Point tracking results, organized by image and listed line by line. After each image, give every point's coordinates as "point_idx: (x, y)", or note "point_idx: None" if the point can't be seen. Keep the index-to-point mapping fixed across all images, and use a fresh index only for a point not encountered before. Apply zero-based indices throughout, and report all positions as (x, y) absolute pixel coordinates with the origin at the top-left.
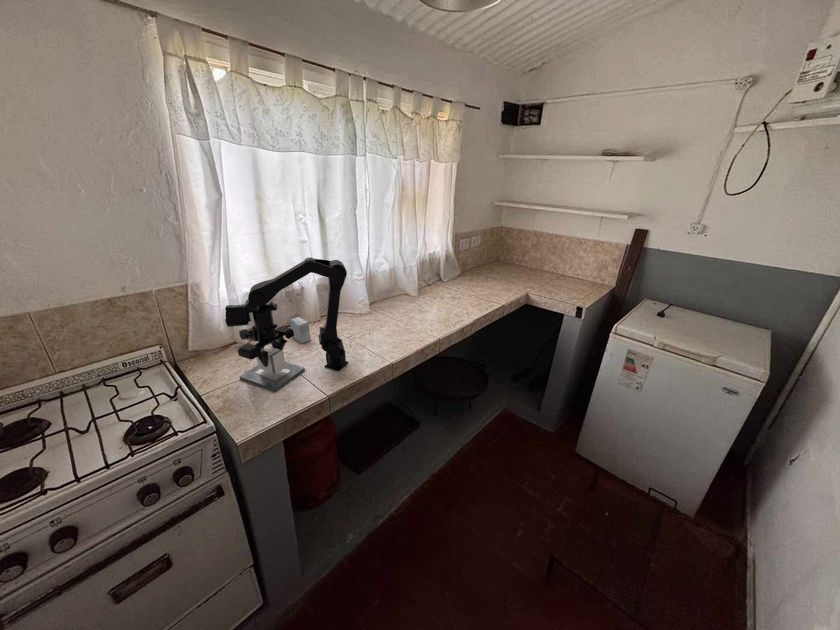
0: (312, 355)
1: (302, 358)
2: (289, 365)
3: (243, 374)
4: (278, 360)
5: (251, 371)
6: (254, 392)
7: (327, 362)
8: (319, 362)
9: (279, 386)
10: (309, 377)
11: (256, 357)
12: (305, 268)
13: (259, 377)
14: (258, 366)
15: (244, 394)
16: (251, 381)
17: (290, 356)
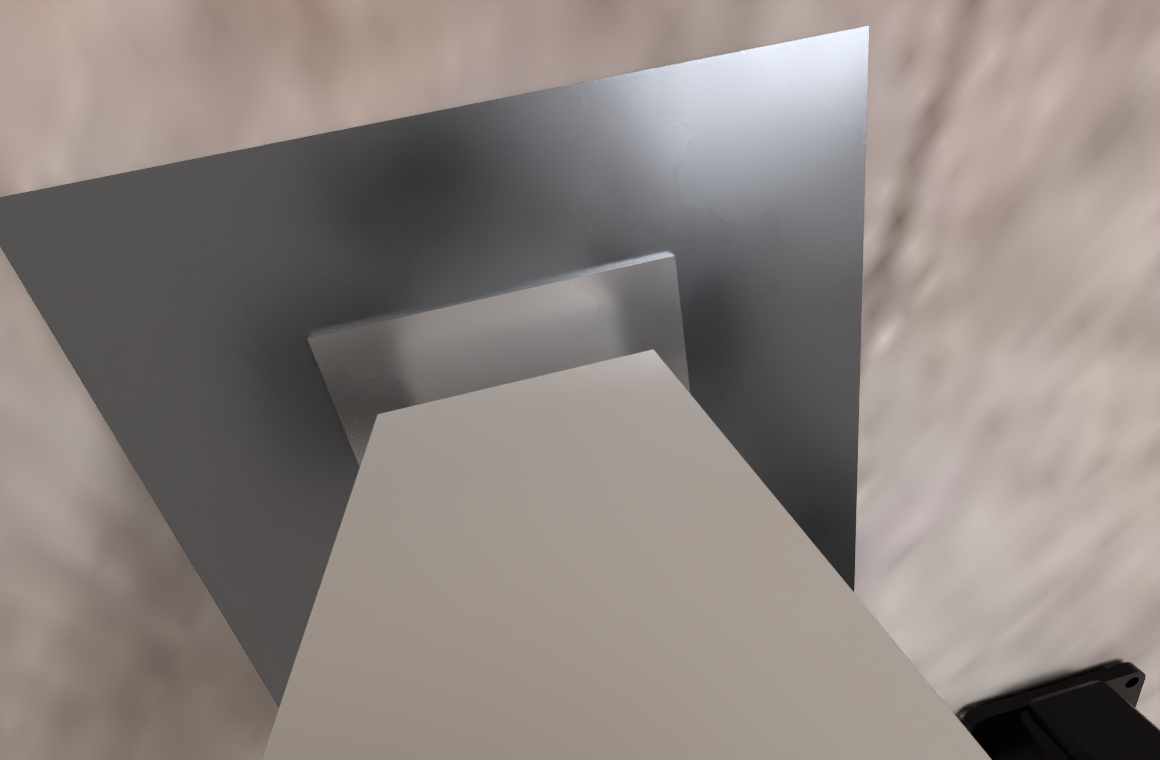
0: (1147, 432)
1: (1045, 402)
2: (806, 524)
3: (85, 206)
4: None
5: (279, 230)
6: (149, 665)
7: (1034, 739)
8: (1026, 608)
9: None
10: None
11: (304, 638)
12: None
13: (317, 513)
14: (370, 447)
15: (4, 630)
16: (167, 505)
17: (1042, 211)
